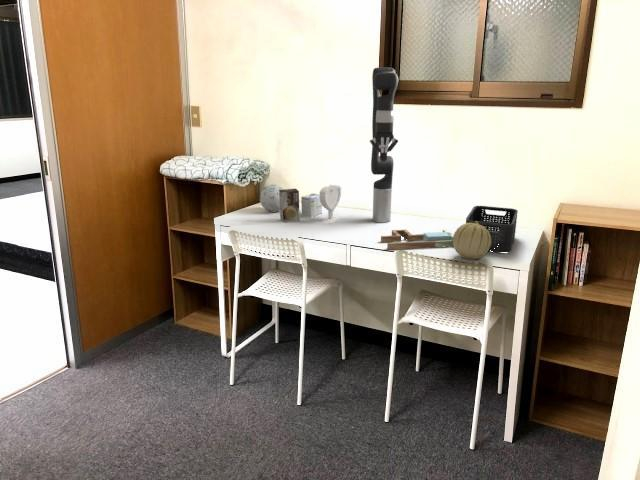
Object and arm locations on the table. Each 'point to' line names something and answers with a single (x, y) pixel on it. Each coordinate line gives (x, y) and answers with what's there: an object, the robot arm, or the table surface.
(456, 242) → the cantaloupe
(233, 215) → the table surface
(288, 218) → the coffee box
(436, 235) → the block
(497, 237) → the storage bin
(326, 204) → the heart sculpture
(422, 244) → the maze
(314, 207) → the light bulb box
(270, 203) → the puzzle ball
